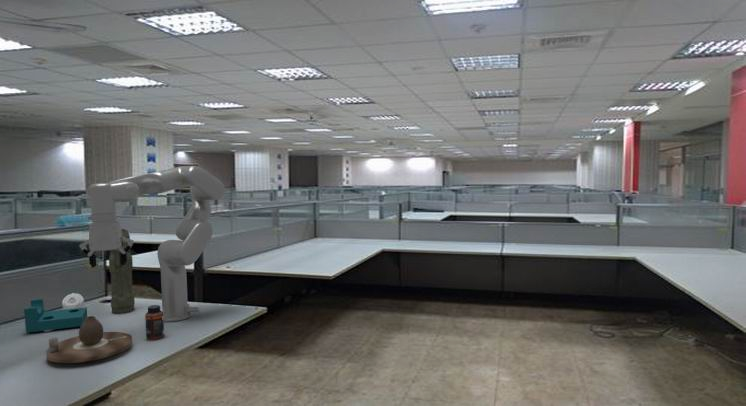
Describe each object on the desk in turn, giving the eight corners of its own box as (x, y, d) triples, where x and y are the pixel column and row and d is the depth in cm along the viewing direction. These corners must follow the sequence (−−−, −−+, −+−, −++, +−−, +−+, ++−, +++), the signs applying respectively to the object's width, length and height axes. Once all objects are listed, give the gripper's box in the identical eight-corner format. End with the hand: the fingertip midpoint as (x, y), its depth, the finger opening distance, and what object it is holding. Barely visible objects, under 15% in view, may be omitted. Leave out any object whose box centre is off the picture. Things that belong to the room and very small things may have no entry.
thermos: (109, 316, 196) (105, 231, 194) (112, 309, 207) (109, 229, 205) (133, 313, 200) (130, 230, 197) (135, 306, 210) (132, 227, 208)
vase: (108, 340, 158) (107, 314, 158) (93, 347, 152) (92, 320, 151) (89, 339, 159) (88, 313, 159) (74, 346, 152) (72, 319, 152)
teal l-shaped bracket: (26, 336, 175) (24, 309, 173) (34, 325, 184) (31, 299, 183) (83, 329, 182) (81, 303, 180) (87, 319, 191) (85, 294, 190)
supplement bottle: (168, 335, 171) (167, 304, 171) (155, 341, 166) (154, 309, 165) (155, 334, 173) (153, 303, 173) (142, 339, 168) (140, 307, 167)
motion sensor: (60, 315, 199) (59, 296, 198) (64, 310, 206) (63, 292, 205) (83, 312, 202) (82, 294, 202) (86, 308, 209) (85, 290, 209)
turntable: (124, 331, 172) (123, 316, 172) (139, 350, 153) (139, 333, 153) (43, 347, 157) (42, 330, 157) (50, 369, 138) (49, 351, 138)
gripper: (73, 221, 163) (78, 270, 164) (128, 217, 167) (132, 265, 168) (81, 218, 170) (85, 265, 172) (133, 215, 174) (137, 261, 176)
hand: (109, 265), depth 170 cm, fingers open, 9 cm apart
